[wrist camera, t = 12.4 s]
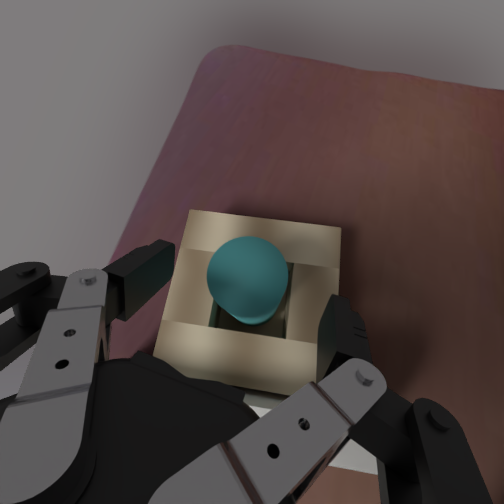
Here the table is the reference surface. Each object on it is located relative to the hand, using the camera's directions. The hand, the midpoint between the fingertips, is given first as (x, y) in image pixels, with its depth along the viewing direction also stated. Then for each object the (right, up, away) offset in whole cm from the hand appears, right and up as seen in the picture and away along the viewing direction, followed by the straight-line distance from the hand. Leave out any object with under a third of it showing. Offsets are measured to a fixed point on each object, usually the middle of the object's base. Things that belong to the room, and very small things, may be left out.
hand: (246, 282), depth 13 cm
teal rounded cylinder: (0, -3, +9) cm, 10 cm away
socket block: (+1, -3, +10) cm, 11 cm away
